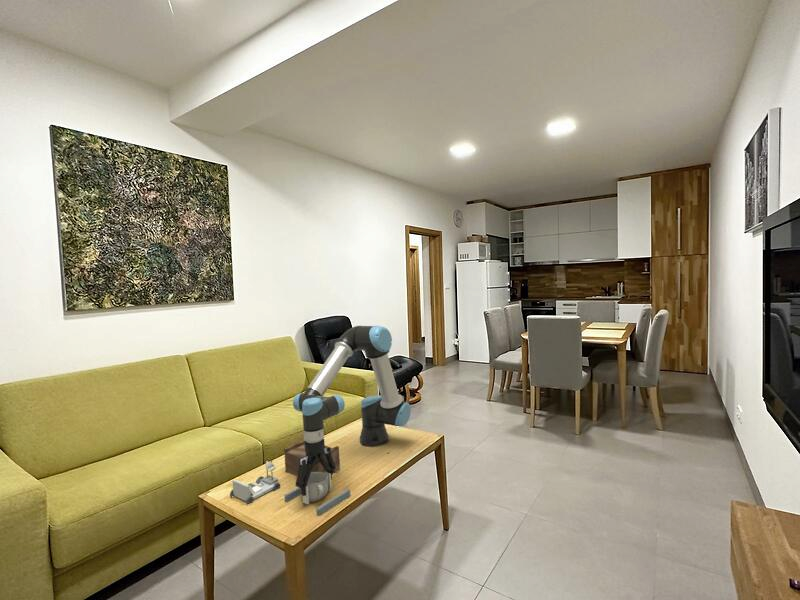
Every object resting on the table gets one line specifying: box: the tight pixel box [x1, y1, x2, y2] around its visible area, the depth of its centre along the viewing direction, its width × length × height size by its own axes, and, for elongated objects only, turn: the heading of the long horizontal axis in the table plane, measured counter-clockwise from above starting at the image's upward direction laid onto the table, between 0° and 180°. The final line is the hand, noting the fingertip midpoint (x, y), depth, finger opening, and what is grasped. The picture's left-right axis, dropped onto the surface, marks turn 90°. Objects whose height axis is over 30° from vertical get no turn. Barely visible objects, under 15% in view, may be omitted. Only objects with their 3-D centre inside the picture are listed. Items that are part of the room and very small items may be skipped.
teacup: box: [300, 472, 329, 503], centre depth 153 cm, size 14×11×8 cm
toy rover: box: [229, 459, 281, 505], centre depth 162 cm, size 18×10×12 cm
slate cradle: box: [284, 487, 351, 517], centre depth 154 cm, size 16×19×2 cm
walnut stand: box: [283, 439, 341, 477], centre depth 178 cm, size 14×20×10 cm
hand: (317, 495), depth 154 cm, fingers closed on teacup, 11 cm apart
